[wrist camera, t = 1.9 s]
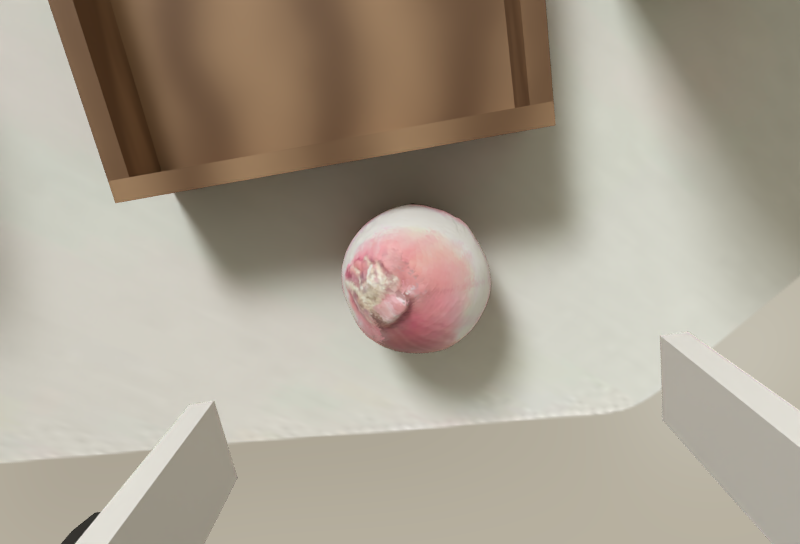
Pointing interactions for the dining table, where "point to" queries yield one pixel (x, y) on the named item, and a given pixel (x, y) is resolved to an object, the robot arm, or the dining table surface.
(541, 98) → the wooden tray
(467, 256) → the onion
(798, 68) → the dining table surface
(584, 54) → the dining table surface
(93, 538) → the robot arm
